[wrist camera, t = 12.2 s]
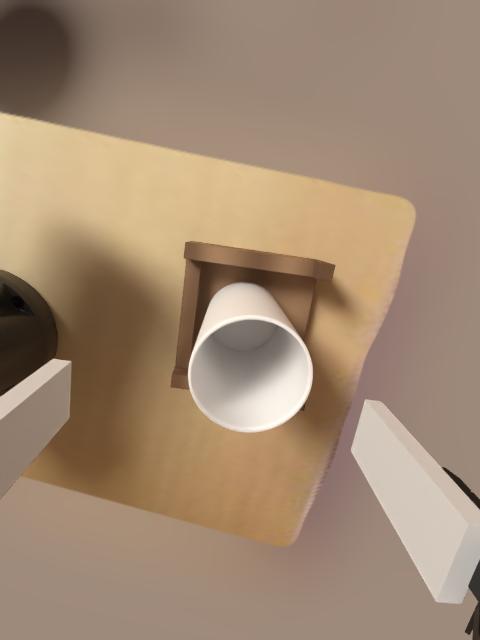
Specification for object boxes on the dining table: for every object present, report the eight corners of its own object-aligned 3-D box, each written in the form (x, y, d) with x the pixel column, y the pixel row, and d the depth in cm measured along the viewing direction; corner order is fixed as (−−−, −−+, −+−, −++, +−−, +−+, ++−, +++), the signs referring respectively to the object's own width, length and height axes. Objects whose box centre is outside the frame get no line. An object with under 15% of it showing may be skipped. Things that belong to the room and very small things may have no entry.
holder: (179, 366, 40) (167, 393, 33) (192, 241, 36) (183, 242, 29) (292, 381, 40) (303, 410, 34) (316, 259, 37) (335, 265, 30)
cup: (282, 348, 38) (316, 426, 22) (211, 356, 38) (197, 439, 22) (276, 277, 36) (310, 308, 20) (201, 286, 36) (178, 323, 20)
